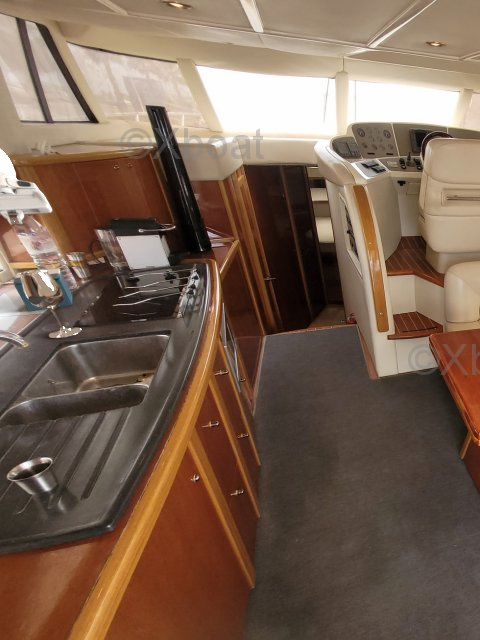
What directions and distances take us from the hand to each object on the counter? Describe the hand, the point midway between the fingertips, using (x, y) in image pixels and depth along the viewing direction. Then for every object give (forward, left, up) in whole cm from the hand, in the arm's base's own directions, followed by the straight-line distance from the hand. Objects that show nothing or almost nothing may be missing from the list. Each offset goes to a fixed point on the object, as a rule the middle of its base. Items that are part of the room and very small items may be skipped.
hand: (15, 223), depth 135 cm
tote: (+6, -7, -26) cm, 28 cm away
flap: (+4, -4, -16) cm, 18 cm away
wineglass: (+32, -29, -27) cm, 51 cm away
